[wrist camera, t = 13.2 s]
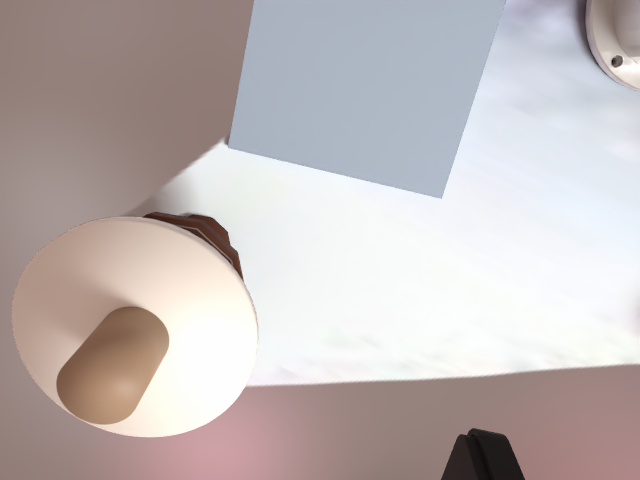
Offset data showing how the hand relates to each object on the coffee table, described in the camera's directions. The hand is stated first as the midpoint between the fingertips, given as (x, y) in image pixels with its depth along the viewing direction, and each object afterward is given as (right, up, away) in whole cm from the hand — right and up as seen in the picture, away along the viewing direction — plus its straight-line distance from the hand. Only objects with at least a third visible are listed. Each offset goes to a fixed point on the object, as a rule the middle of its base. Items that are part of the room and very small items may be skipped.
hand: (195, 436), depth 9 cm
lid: (-8, -2, +21) cm, 23 cm away
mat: (+6, +17, +30) cm, 35 cm away
